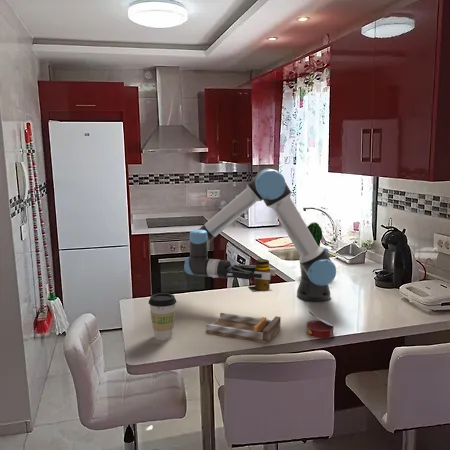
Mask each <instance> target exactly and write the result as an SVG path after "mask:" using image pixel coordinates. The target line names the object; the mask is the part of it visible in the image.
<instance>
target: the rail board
mask: <svg viewBox="0 0 450 450" xmlns="http://www.w3.org/2000/svg"><path fill="white" fill-rule="evenodd" d="M261 319H262V318H257V317H252V316H246V315H245V316H244V315H237V314H231V313H223V312H220V313H219V319H218V320H216V321H215V322H214V323H207V324H206V330H205V334H211V335H216V336H217V335H218V336H223V337H228V338H234V339H241V340H245V341H251V342H256V343H263V344H270V342H271V340H272V341H273V338H274V337H275V336H276V334H278V332H279V330H280V329H281V319H282V318H281V316H277V315H276V316H274V317H273V318H272V320H271V319H266V326H265V327H264V328H263V329H262V331H261V332H256V331H254V326H255V325H256V324H257V323H258V322H259V321H260V320H261Z"/></svg>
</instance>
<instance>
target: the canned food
mask: <svg viewBox="0 0 450 450" xmlns="http://www.w3.org/2000/svg"><path fill="white" fill-rule="evenodd" d="M308 313H309V314H310V315H312V316H313V317H315V318H316V320H310V321H308V322H306V330H305V331H306V334H307V335H308V336H310V337H313V338H317V339H329V338H331V337H333V336H334V327H335V326H334V324H332V323H331V322H329V321H326V320H324V319H322V318H320V317H318V316H316V315H314V313H312V312H311V311H310V310H308Z"/></svg>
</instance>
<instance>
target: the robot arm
mask: <svg viewBox="0 0 450 450" xmlns="http://www.w3.org/2000/svg"><path fill="white" fill-rule="evenodd" d="M291 194H292V191H291V190H290V187H289V186H288V184H287V182H286V179H285V177H284V175H283V174H282V173H281V172H280V171H279V170H276V169H274V168H268V167H267V168H264V169H261V170H260V171H259V172H258V173H256V175H255V176H254V177H253V179H251V181H249V182H248V183H247V184H246V188H244V190H242V192H240V193H239V194H238V195H237V196H236V197H234V198H233V199H232V200H231V201H229V203H228V204H226V205H225V206H224V207H222V209H220V210H219V211H218V212H217V213H216V214H215V215H213V216H212V217H211V218H210V219H209V220H208V221H206V223H204V224H203V225H202V226H200V227H199V228H198V229H193V230H191V231H190V232H189V256H187V257H186V258H185V261H184V264H183V265H184V266H183V268H184V272H185V273H186V274H188V275H192V276H199V277H211V278H212V279H215V278H219V279H228V278H233V279H234V278H235V279H241V280H249V281H255V279H264V280H270V281H271V276H276V268H271V267H270V273H266V272H256V271H255V267H256V264H255V265H254V264H243V263H238V264H233V265H232V264H231V261H229V260H225V259H218V258H217V259H216V258H215V259H214V258H208V256H209V255H208V245H209V243H210V242H212V241H213V240H214V239H215V238H216V237H217V236H218V235H219V234H220V233H221V232H223V231H224V230H226V228H228V227H229V226H230V225H231V224H232V223H233V222H234V221H236V220H237V219H238V218H239V217H240V216H242V215H243V214H244V213H246V211H248V210H249V209H250V208H251V207H252V206H255V204H256V203H257V202H262V201H263V203H264V204H265V206H266V207H268V208H271V209H272V210H273V212H274V213H275V216H276V217H277V219H278V221H279V222H280V224H281V226H282V228H283V229H284V231H285V232H286V234H287V236H288V238H289V239H290V241H291V242H292V245H293V246H294V248H295V249H296V251H297V252H298V255H299V254H300V260H299V264H300V263H301V265H302V271H301V270H300V275H301V276H300V278H301V279H300V282H299V284H298V287H297V290H296V297H297V298H298V299H301V300H304V301H307V302H324V301H325V302H326V301H328V300H330V299H331V289H330V285H329V284H331V283H332V282H333V281H334V280H335V277H336V276H337V267H336V265H335V263H334V262H333V261H332V260H331V258H330V255H329V254H330V253H329V248H327V247H323V246H321V245H320V246H318V245H317V243H316V241H315V239H314V238H313V236H312V234H311V233H310V231H309V229H308V225H307V224H306V221H304V219H303V217H302V215H301V214H300V212H299V210H298V209H297V207H296V205H295V204H294V202H293V200H292V199H291V196H292V195H291Z"/></svg>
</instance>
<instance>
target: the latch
mask: <svg viewBox="0 0 450 450" xmlns="http://www.w3.org/2000/svg"><path fill="white" fill-rule="evenodd" d="M260 319H261V320H260V321H259V322H258V323H257V324H256V325H255V326H254V331H256V332H261V331H262V329H263V328H264V327H265V326H266V320H267V318H266V317H264V316H262V317H261V318H260Z"/></svg>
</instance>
